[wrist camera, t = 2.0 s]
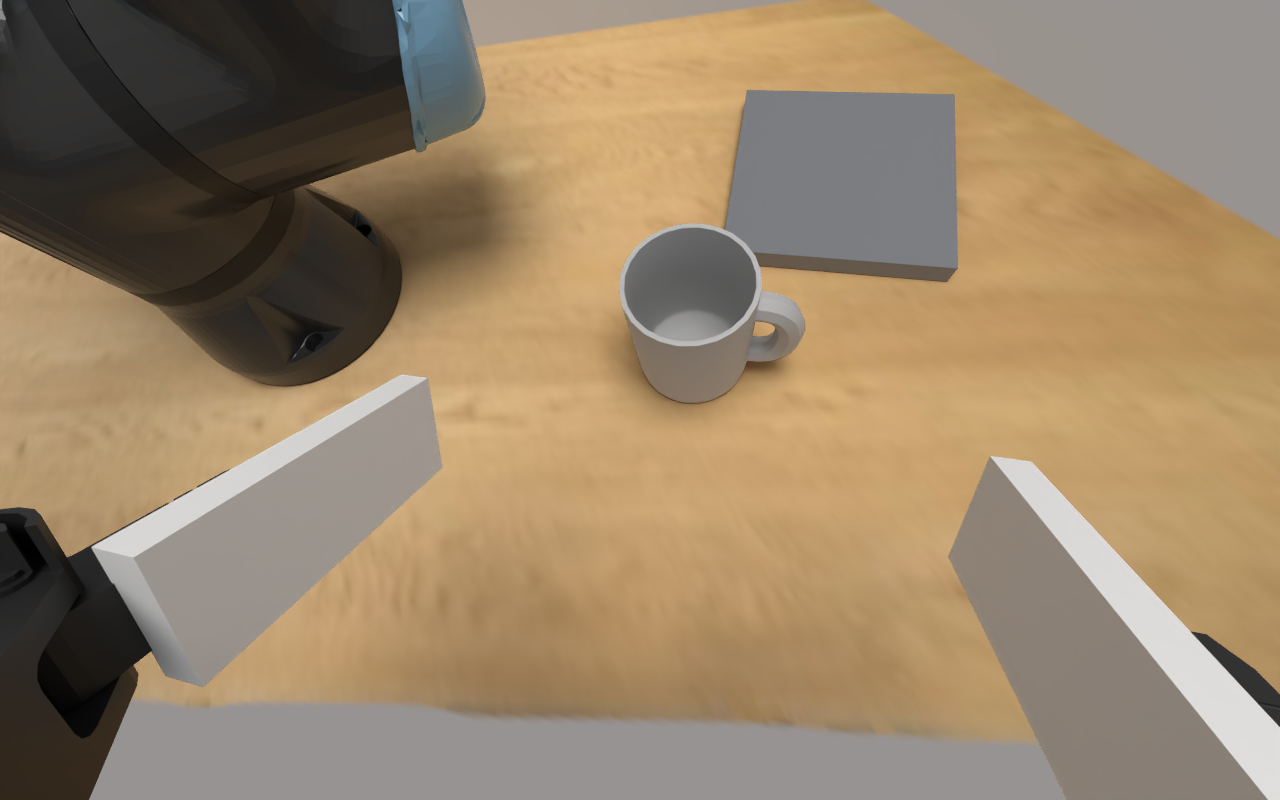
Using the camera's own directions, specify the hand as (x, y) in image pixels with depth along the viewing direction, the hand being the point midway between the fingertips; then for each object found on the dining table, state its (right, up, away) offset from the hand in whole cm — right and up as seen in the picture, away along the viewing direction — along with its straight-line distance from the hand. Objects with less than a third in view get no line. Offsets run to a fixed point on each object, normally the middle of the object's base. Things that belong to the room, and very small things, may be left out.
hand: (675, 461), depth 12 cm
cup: (+4, +4, +21) cm, 22 cm away
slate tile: (+14, +17, +24) cm, 33 cm away
